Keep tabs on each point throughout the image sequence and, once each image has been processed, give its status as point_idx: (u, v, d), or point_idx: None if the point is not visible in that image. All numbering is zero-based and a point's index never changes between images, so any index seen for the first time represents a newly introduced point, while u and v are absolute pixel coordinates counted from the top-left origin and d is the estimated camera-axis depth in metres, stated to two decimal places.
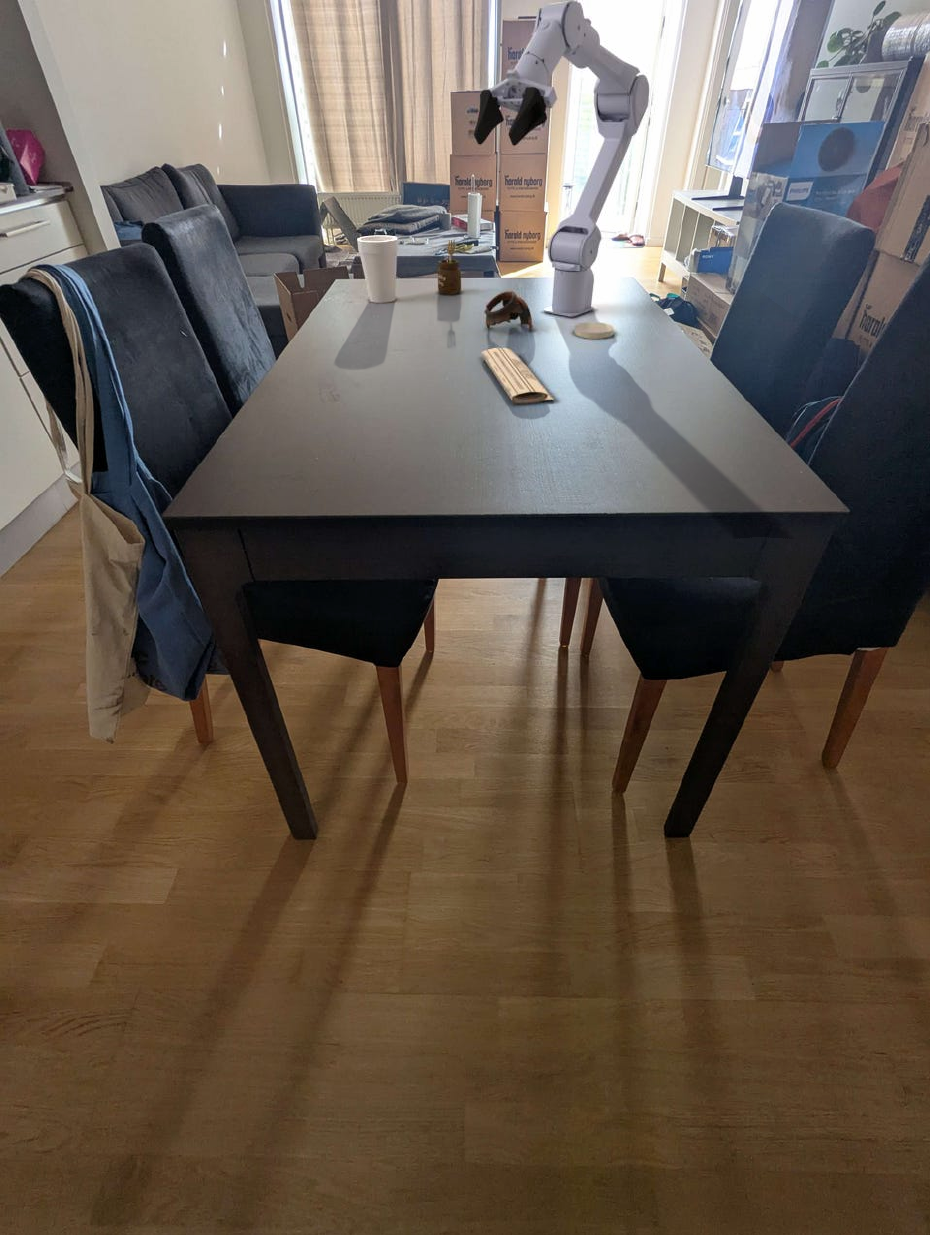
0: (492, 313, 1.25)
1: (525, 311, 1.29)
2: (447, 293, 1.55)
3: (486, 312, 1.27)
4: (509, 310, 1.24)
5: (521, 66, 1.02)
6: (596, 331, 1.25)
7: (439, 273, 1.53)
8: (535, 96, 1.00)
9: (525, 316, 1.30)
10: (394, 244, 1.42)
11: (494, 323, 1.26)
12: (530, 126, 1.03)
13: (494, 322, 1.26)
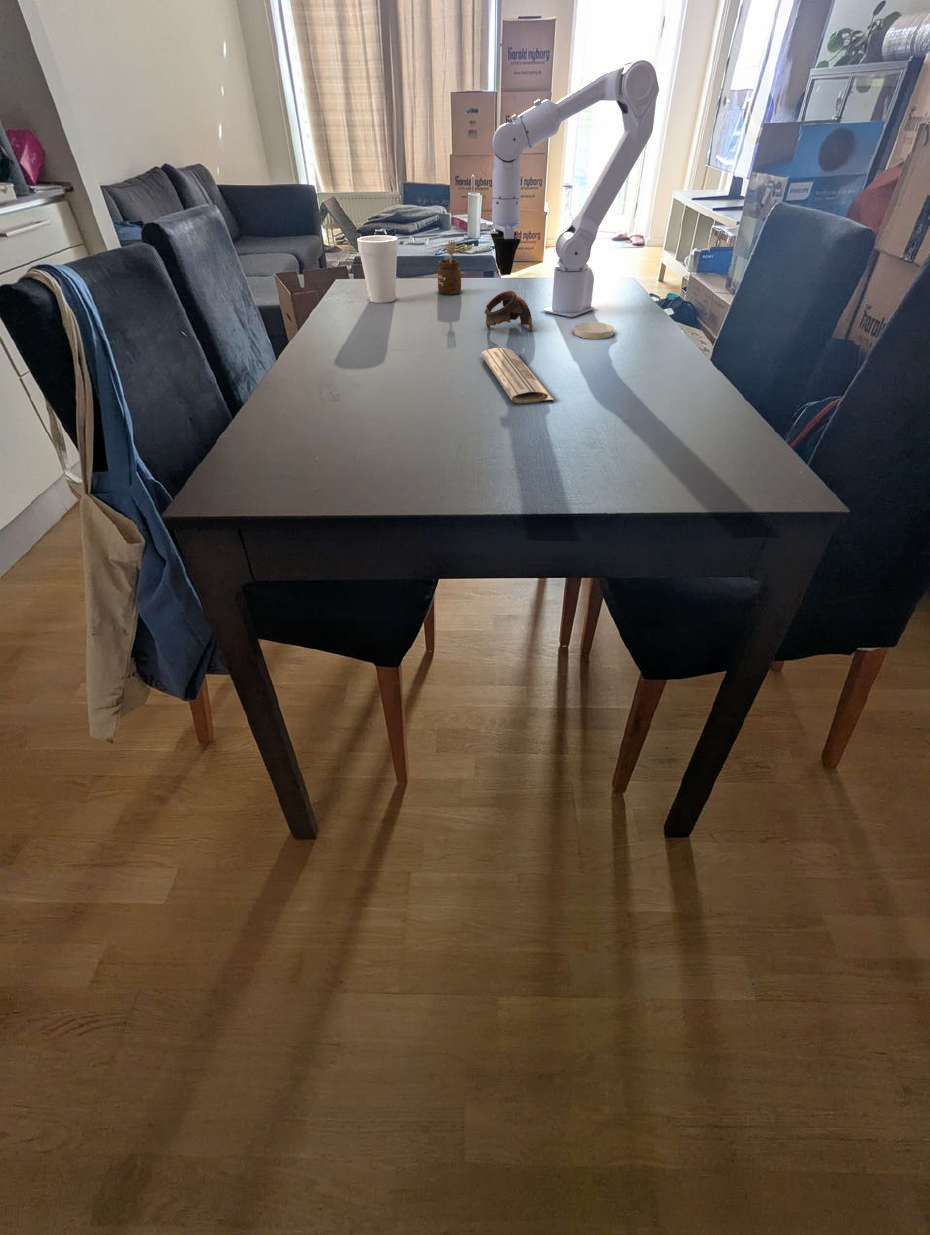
0: (492, 313, 1.25)
1: (525, 311, 1.29)
2: (447, 293, 1.55)
3: (486, 312, 1.27)
4: (509, 310, 1.24)
5: (492, 212, 1.28)
6: (596, 331, 1.25)
7: (439, 273, 1.53)
8: (497, 243, 1.28)
9: (525, 316, 1.30)
10: (394, 244, 1.42)
11: (494, 323, 1.26)
12: (512, 254, 1.30)
13: (494, 322, 1.26)
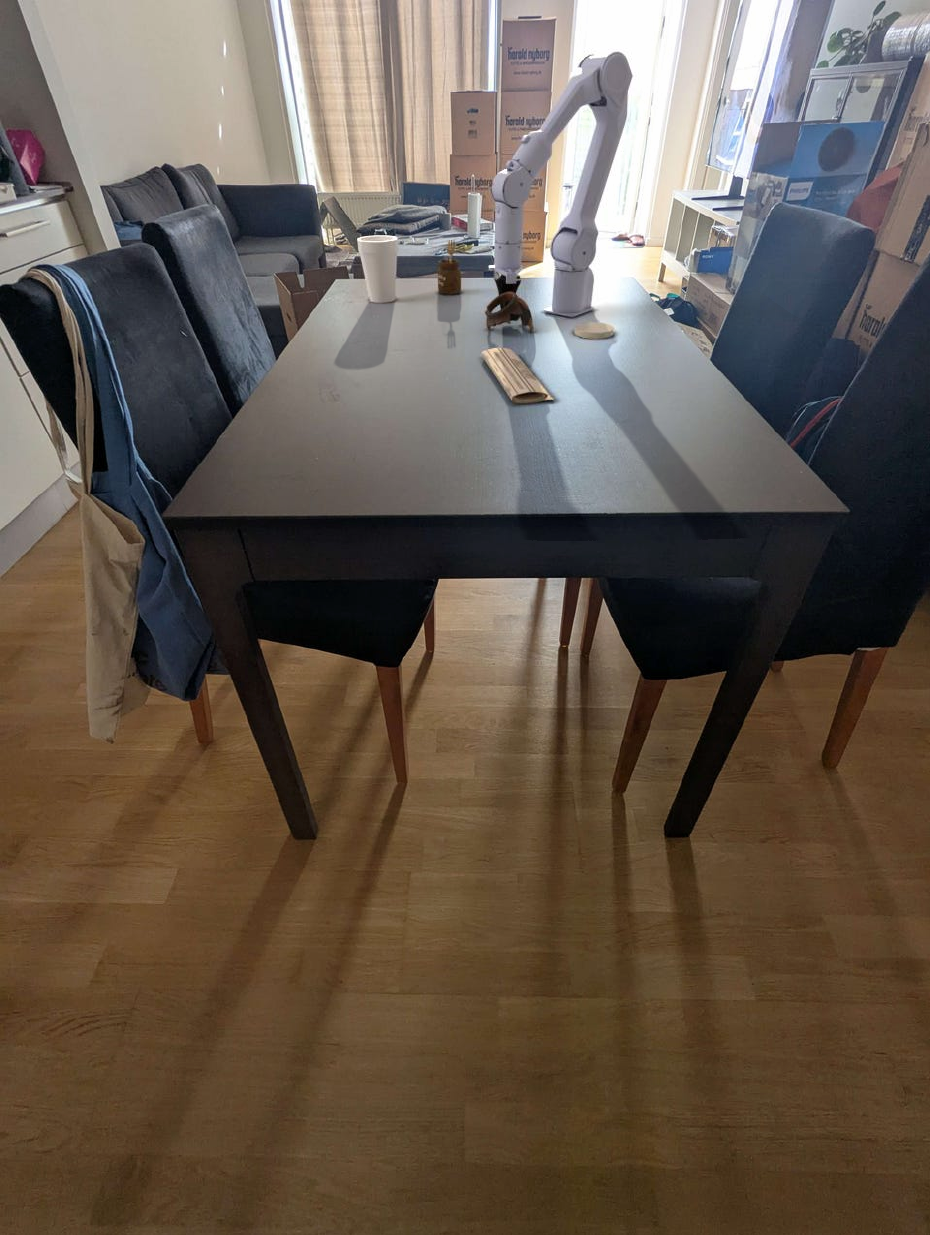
0: (492, 314, 1.25)
1: (526, 312, 1.29)
2: (447, 293, 1.55)
3: (486, 313, 1.26)
4: (509, 311, 1.24)
5: (494, 255, 1.28)
6: (596, 331, 1.25)
7: (439, 273, 1.53)
8: (498, 284, 1.30)
9: (526, 317, 1.30)
10: (394, 244, 1.42)
11: (494, 324, 1.26)
12: None
13: (494, 323, 1.26)
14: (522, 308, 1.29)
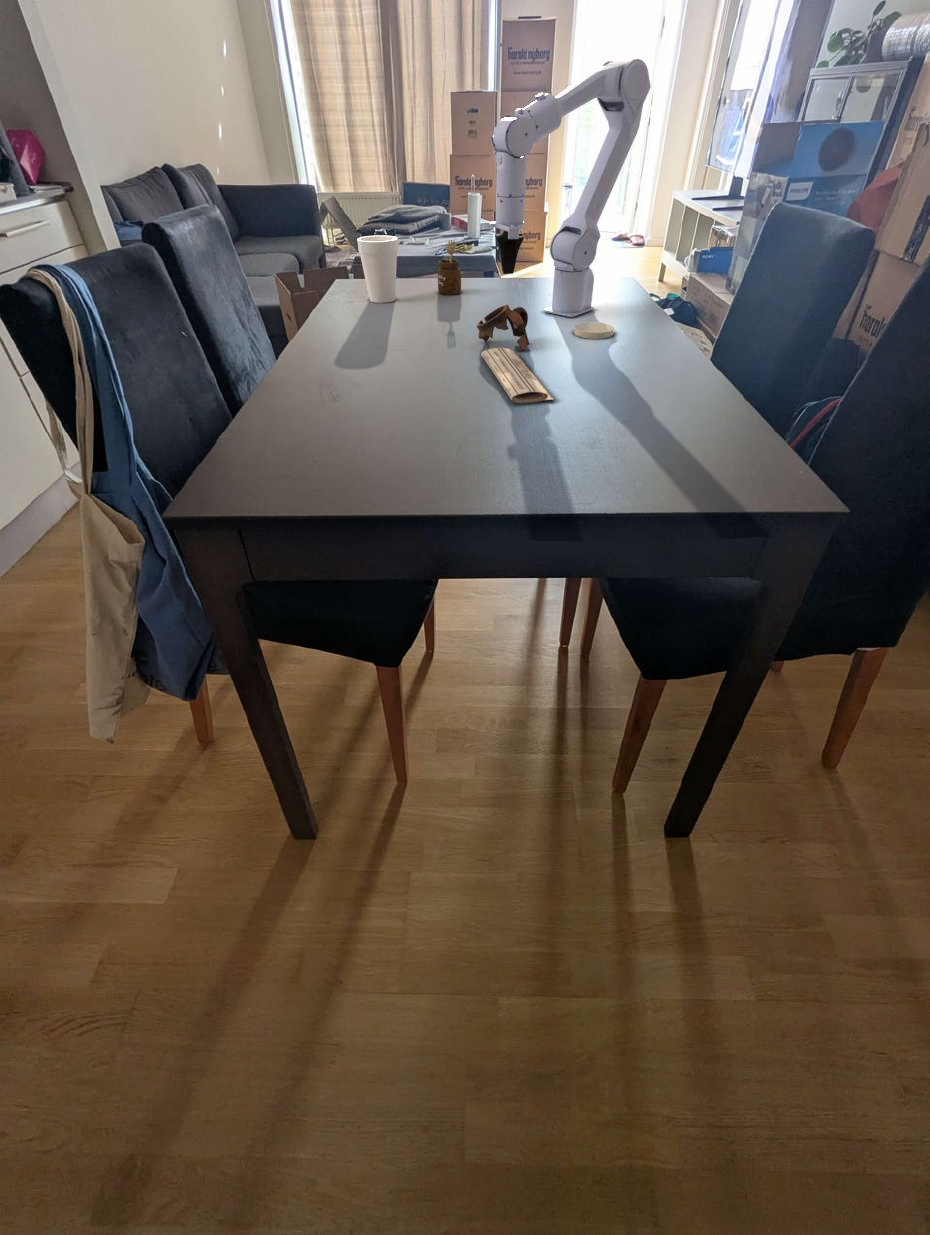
0: (478, 326, 1.18)
1: None
2: (447, 293, 1.55)
3: (477, 324, 1.20)
4: (493, 325, 1.16)
5: (496, 210, 1.22)
6: (596, 331, 1.25)
7: (439, 273, 1.53)
8: (500, 242, 1.24)
9: None
10: (394, 244, 1.42)
11: (480, 336, 1.19)
12: (515, 252, 1.26)
13: (480, 335, 1.19)
14: None
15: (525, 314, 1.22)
